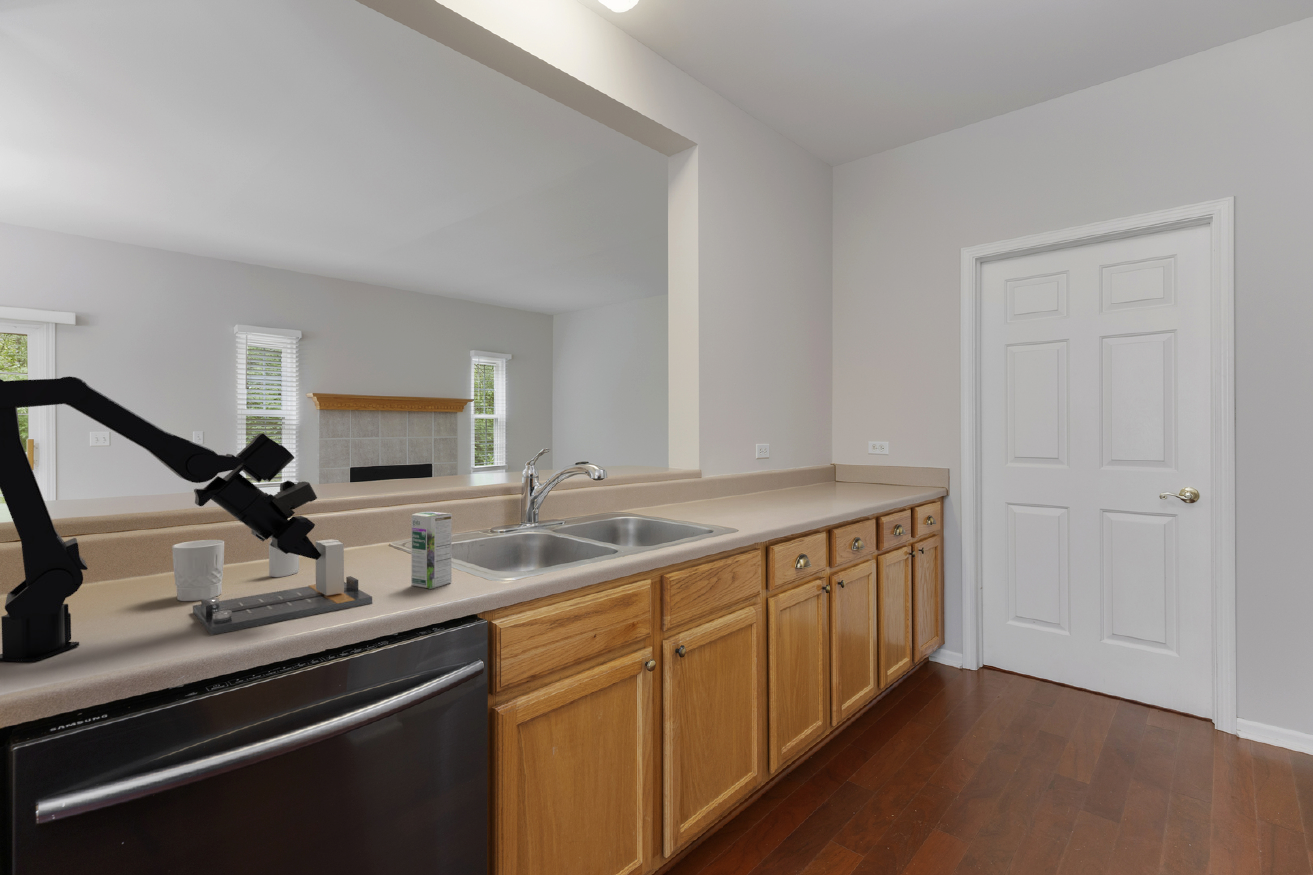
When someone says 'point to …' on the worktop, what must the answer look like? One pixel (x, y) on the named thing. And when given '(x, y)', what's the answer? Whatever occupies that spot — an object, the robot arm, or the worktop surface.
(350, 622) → the worktop surface
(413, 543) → the syrup box
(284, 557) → the eye dropper bottle
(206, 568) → the white cup
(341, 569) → the fader
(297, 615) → the board
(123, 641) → the worktop surface
